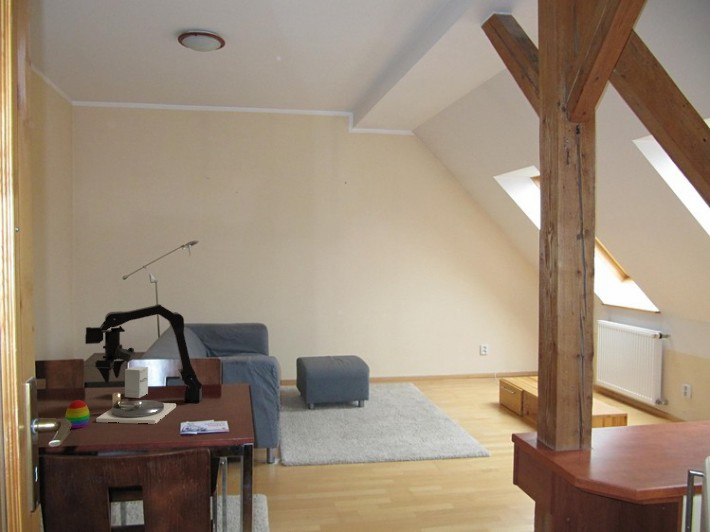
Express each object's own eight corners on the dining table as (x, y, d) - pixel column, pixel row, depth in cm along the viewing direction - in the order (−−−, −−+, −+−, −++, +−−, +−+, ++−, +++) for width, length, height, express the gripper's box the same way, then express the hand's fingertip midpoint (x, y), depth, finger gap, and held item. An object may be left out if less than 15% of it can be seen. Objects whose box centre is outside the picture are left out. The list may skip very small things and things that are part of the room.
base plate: (175, 407, 247) (175, 403, 247) (155, 424, 224) (155, 419, 224) (122, 405, 248) (122, 401, 248) (96, 422, 225) (96, 417, 225)
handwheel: (171, 404, 245) (171, 389, 244) (151, 418, 225) (151, 402, 224) (124, 401, 246) (124, 387, 246) (100, 415, 227) (100, 400, 226)
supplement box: (139, 398, 259) (139, 370, 258) (124, 397, 260) (124, 369, 260) (148, 394, 266) (148, 366, 265) (133, 393, 267) (133, 365, 267)
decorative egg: (81, 421, 225) (81, 396, 225) (93, 425, 220) (93, 399, 220) (61, 426, 218) (61, 400, 218) (72, 431, 214) (72, 404, 213)
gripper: (122, 347, 231) (122, 386, 232) (140, 339, 250) (140, 375, 251) (94, 346, 231) (94, 385, 232) (114, 338, 250) (114, 374, 251)
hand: (112, 380), depth 241 cm, fingers open, 9 cm apart
